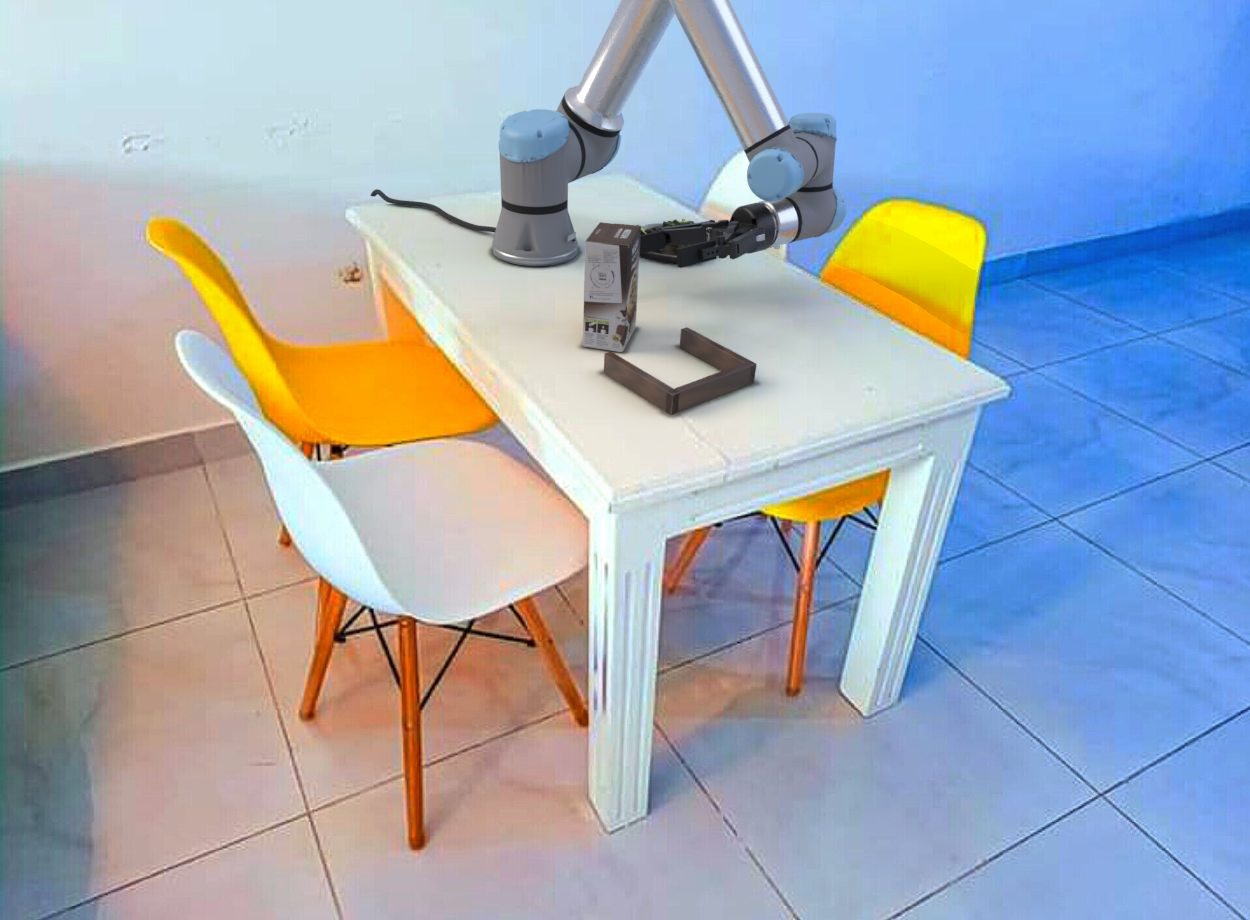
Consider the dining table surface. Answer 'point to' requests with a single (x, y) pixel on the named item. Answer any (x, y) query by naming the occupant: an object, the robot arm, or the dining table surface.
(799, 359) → the dining table surface
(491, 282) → the dining table surface
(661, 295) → the dining table surface
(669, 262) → the salad plate
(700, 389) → the walnut holder
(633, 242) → the coffee box
